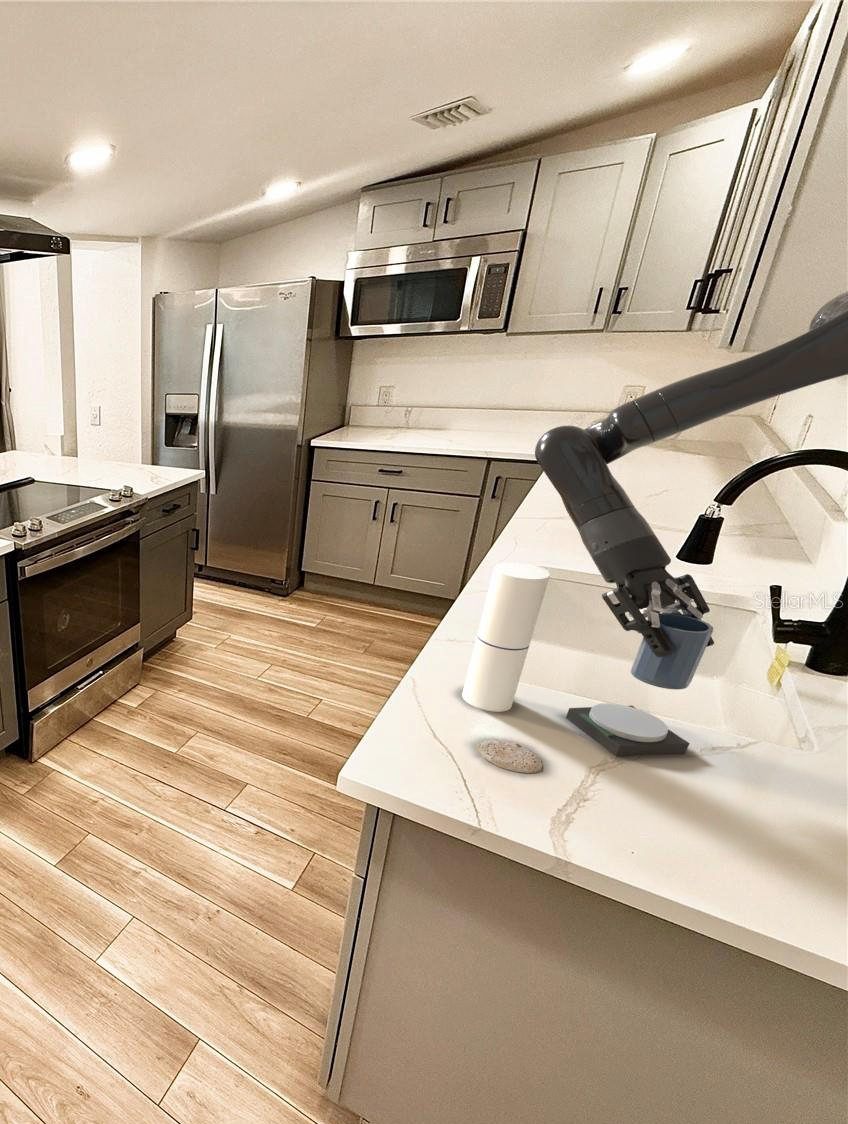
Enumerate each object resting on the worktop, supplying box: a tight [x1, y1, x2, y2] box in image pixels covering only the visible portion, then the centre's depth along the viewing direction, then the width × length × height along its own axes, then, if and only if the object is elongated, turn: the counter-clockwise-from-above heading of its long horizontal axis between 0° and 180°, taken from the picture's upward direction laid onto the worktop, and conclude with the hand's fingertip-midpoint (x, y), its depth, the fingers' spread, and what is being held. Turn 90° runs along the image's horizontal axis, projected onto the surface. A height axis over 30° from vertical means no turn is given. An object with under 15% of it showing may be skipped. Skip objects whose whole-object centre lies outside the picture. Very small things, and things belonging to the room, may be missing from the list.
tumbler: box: [630, 612, 714, 691], centre depth 87 cm, size 6×6×9 cm
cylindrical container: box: [461, 562, 551, 713], centre depth 102 cm, size 7×7×25 cm
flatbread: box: [476, 740, 543, 774], centre depth 93 cm, size 8×8×1 cm
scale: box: [565, 702, 690, 758], centre depth 96 cm, size 10×10×4 cm
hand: (686, 650), depth 85 cm, fingers closed on tumbler, 6 cm apart
